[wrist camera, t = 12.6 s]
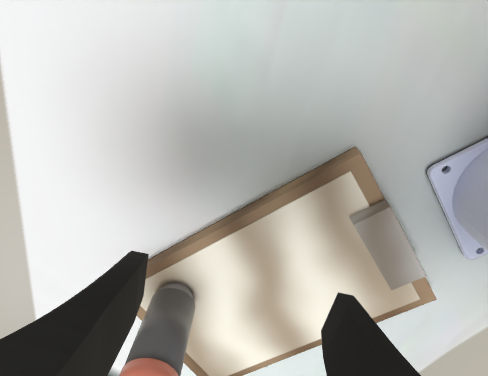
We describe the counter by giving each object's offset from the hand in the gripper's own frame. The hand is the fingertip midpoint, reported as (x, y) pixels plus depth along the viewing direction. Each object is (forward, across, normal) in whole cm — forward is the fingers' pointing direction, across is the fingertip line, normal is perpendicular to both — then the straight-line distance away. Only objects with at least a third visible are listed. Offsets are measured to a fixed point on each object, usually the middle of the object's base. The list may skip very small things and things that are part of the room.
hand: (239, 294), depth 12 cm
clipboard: (+10, -4, +8) cm, 13 cm away
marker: (+9, +3, +10) cm, 14 cm away
